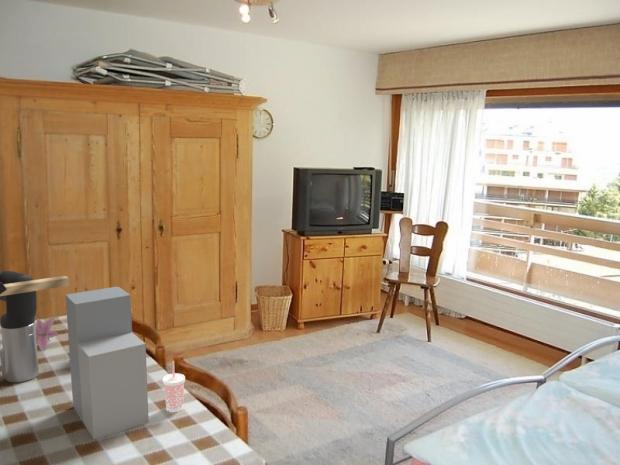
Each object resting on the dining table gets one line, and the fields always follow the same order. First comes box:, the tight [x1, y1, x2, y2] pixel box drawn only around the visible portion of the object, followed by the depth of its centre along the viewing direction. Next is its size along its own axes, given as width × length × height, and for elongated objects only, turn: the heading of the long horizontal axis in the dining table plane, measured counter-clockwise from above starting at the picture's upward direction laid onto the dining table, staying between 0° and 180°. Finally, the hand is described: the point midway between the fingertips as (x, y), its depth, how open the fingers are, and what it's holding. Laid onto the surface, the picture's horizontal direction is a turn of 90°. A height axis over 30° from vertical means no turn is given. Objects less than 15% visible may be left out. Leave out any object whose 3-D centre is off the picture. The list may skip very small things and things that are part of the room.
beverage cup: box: [162, 360, 186, 413], centre depth 147 cm, size 6×6×14 cm
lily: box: [35, 316, 59, 352], centre depth 189 cm, size 12×12×10 cm
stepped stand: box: [65, 286, 150, 440], centre depth 141 cm, size 14×20×32 cm
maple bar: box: [0, 275, 70, 296], centre depth 130 cm, size 20×3×2 cm, turn 128°
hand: (2, 284), depth 127 cm, fingers closed on maple bar, 3 cm apart
